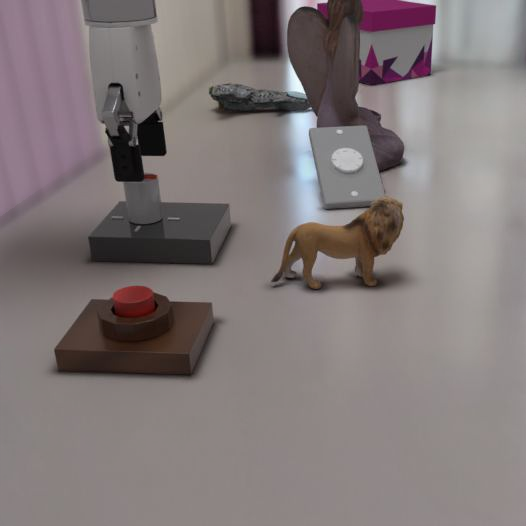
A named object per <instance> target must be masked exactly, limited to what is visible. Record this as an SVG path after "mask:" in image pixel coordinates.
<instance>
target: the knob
mask: <svg viewBox="0 0 526 526" xmlns="http://www.w3.org/2000/svg"><path fill="white" fill-rule="evenodd" d="M144 176H145V178H144V180H143V181H142V182H122V183H123V191H124V199H125V201H126V205H127V213H128V220H129V221H130V222H131V223H135V224H151V223H155V222H158V221H160V220H161V219H162V217H163V215H162V207H161V202H162V199H161V190H160V182H159V181H160V180H159V176H158V174H155V173H151V172H144Z"/></svg>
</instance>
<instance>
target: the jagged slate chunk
mask: <svg viewBox="0 0 526 526" xmlns="http://www.w3.org/2000/svg"><path fill="white" fill-rule="evenodd" d="M208 95H210V97H211V99H212V100H213V101H216V102H217V104H218V109H221V110H225V111H228V112H230V113H252V112H253V113H254V112H257V109H271V108H272V109H273V108H276V109H280V110H286V111H306V110H308V109H310V108H311V106H310V104H309V102H308V99H307V97H306V94H305V92H300V91H293V90H291V91H284V92H283V91H277V90H270V89H266V88H265V89H262V88H261V89H260V88H259V89H256V88H253V87H251V86H248V85H244V84H241V83H234V82H228V83H222V84H215V85H211V87H208ZM311 109H312V108H311Z"/></svg>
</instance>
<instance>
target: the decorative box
mask: <svg viewBox="0 0 526 526" xmlns="http://www.w3.org/2000/svg"><path fill="white" fill-rule="evenodd" d="M361 1H362V5H363V13H364V17H363V20H362V23H361V24H360V25H359V29H360V53H359V54H360V59H359V83H361V84H365V85H370V86H374V85H379V84H385V83H390V82H397V81H401V80H402V81H403V80H409V79H414V78H419V77H420V78H421V77H425V76H431V74H432V56H433V39H434V37H433V36H434V25H436V20H437V19H436V17H437V5H436V4H435V5H434V4H428V3H421V2H414V1H407V0H361ZM316 9H317V10H319V11H320V12H321V13H322V14H323V15H324V17H325V18H326V19H328V15H327V2H318V3H316Z"/></svg>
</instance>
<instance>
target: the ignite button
mask: <svg viewBox="0 0 526 526" xmlns="http://www.w3.org/2000/svg"><path fill="white" fill-rule="evenodd" d="M153 292H154V291H153V289H151V288H150V287H149V286H144V285H130V286H125V287H121V288H119V289H117V290H116V291H115V292H113V294H112V297H111V298H113V304H114V310H115V314H116V316H119V317H122V318H137V317H142V316H146V315H149V314H151V313H152V312H154V311H155V303H154V295H153Z"/></svg>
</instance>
